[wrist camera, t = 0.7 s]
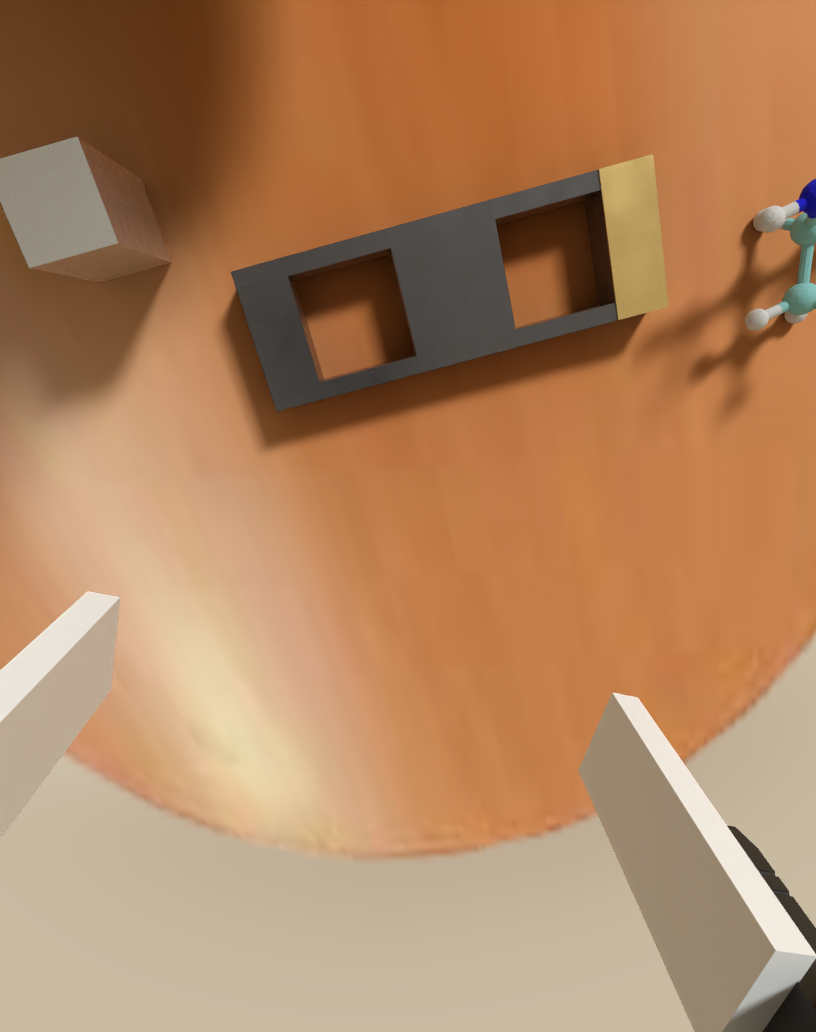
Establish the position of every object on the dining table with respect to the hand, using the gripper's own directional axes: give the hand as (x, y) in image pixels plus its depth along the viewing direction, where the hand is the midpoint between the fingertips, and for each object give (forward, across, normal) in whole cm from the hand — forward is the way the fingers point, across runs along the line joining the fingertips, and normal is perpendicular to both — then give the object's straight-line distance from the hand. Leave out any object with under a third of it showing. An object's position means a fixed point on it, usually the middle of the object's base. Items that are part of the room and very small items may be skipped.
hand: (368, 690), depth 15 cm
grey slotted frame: (+24, +2, +12) cm, 27 cm away
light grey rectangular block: (+24, -18, +10) cm, 32 cm away
